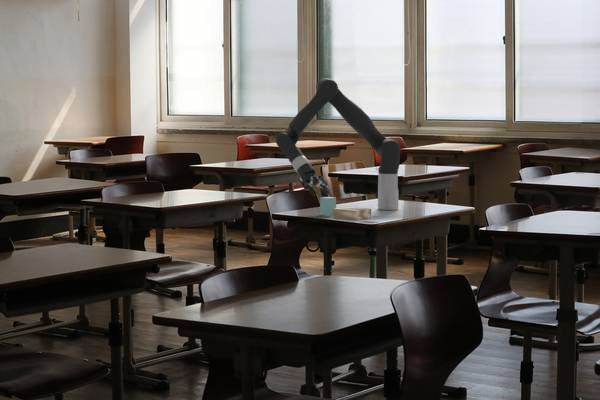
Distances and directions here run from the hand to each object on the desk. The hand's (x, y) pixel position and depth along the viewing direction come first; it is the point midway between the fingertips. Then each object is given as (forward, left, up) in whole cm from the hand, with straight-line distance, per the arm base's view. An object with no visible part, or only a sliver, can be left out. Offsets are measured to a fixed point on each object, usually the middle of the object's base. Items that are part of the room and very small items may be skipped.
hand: (321, 194), depth 454 cm
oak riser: (0, +18, -9) cm, 20 cm away
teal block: (0, +4, -9) cm, 10 cm away
